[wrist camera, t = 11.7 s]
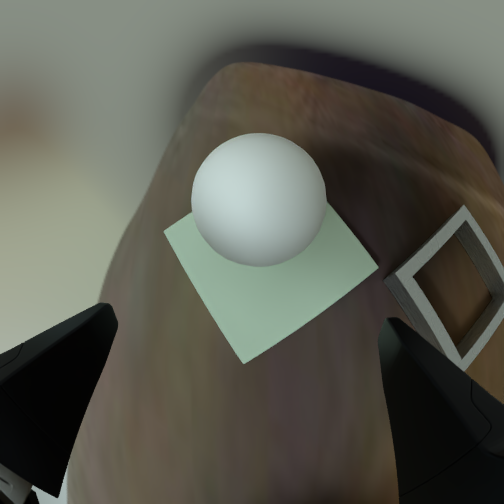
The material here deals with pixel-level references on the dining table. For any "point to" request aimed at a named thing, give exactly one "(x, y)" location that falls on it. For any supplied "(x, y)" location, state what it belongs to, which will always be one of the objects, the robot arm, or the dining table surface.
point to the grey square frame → (420, 310)
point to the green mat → (271, 283)
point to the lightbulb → (258, 200)
